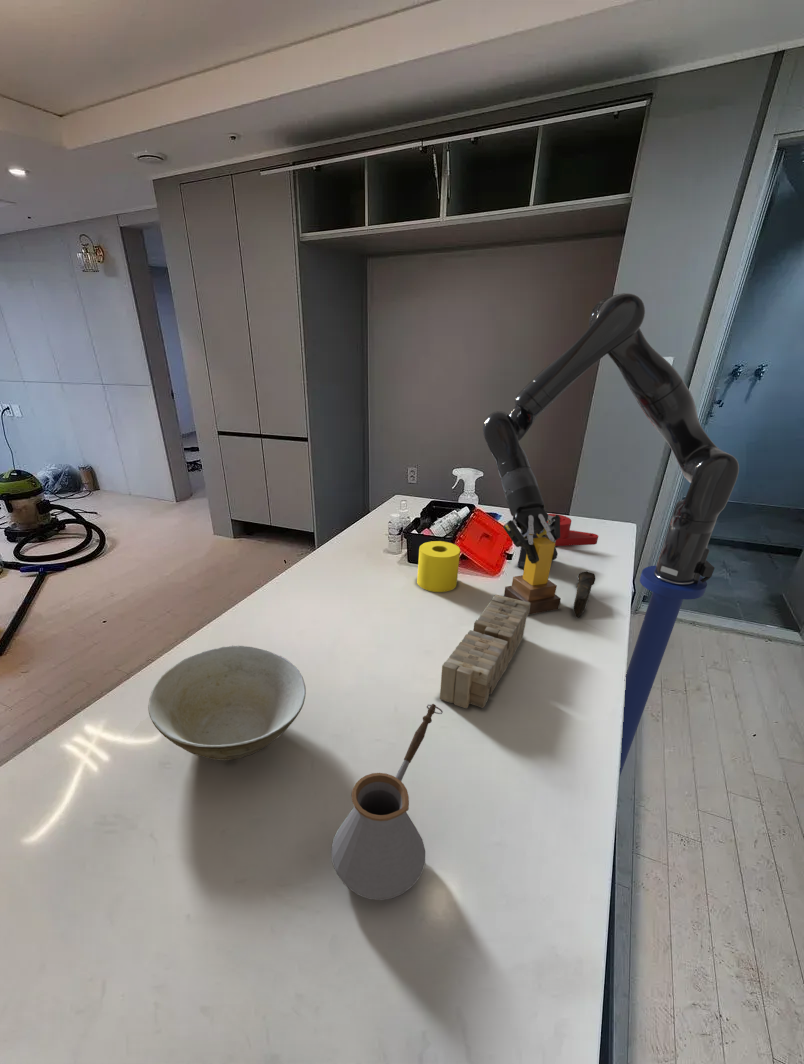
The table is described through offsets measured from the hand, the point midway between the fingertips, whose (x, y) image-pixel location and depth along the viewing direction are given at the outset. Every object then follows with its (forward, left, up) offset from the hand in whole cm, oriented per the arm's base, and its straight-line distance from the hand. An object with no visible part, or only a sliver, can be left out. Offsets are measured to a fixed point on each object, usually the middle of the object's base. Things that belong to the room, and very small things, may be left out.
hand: (544, 560), depth 113 cm
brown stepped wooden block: (+1, -2, -12) cm, 12 cm away
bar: (+1, -2, -6) cm, 6 cm away
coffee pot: (+29, +64, -12) cm, 72 cm away
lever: (-16, -43, -12) cm, 47 cm away
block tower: (+14, +24, -12) cm, 30 cm away
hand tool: (-12, -4, -12) cm, 18 cm away
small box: (-4, -25, -12) cm, 28 cm away
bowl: (+56, +49, -12) cm, 75 cm away
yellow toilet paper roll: (+23, -10, -12) cm, 28 cm away
